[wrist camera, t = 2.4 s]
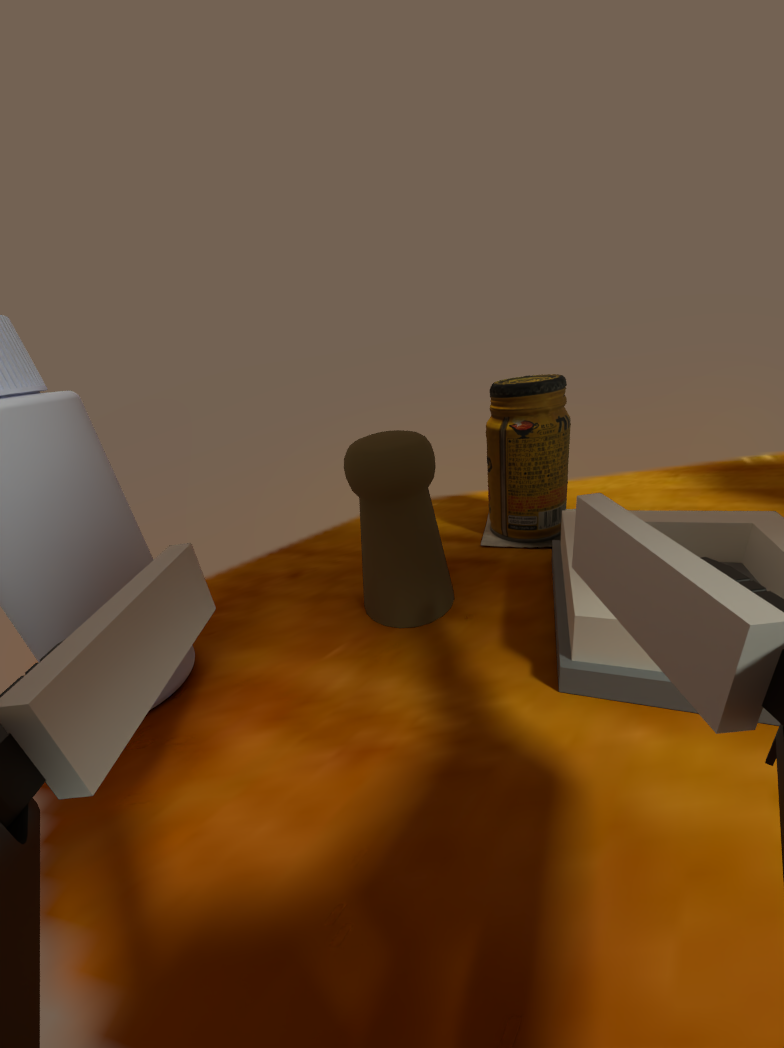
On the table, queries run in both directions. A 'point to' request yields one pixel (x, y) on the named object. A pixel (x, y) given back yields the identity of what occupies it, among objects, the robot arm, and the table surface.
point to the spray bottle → (59, 512)
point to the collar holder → (606, 646)
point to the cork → (399, 529)
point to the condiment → (527, 461)
